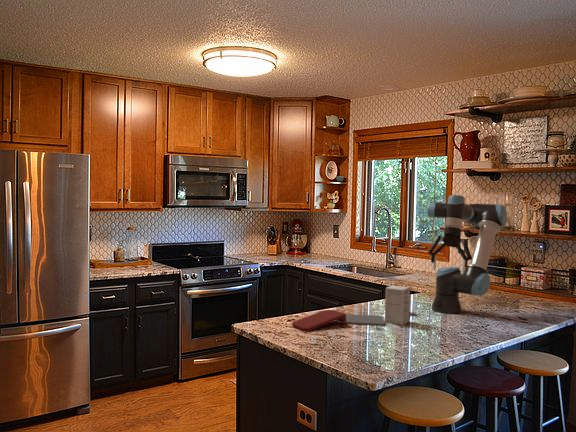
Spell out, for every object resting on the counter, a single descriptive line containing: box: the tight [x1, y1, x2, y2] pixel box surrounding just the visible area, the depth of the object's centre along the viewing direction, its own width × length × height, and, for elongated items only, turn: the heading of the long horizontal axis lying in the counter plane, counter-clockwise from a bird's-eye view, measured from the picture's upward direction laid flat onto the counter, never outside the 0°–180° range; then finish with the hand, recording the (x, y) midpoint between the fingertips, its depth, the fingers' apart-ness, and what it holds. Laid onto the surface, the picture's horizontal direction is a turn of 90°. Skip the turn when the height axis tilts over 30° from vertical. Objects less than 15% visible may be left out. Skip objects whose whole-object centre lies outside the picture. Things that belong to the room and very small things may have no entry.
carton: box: [291, 309, 347, 332], centre depth 241 cm, size 12×5×25 cm
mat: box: [343, 313, 386, 326], centre depth 252 cm, size 16×20×1 cm
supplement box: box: [384, 285, 411, 326], centre depth 251 cm, size 10×9×17 cm
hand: (447, 272), depth 245 cm, fingers open, 13 cm apart
